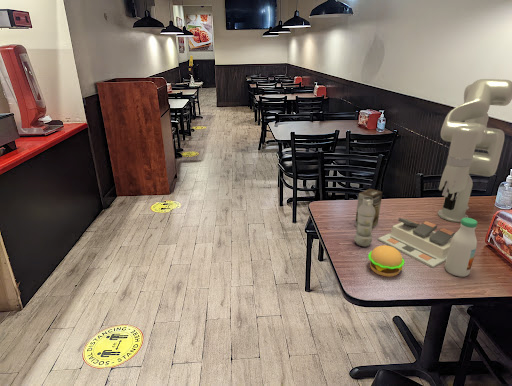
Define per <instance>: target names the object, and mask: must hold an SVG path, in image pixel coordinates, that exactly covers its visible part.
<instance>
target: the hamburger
mask: <svg viewBox="0 0 512 386" xmlns="http://www.w3.org/2000/svg"><path fill="white" fill-rule="evenodd" d="M367 258H368V260H369V261H370V263H369V267H370V269H371V270H372V272H374V273H375V274H377V275H379V276H382V277H387V278H389V277H390V278H391V277H395V276H397V275H398V274H399V273H400V272H401V271H402V270H403V268H404V265H405V259H404V258H403V255H402V252H400V251H398V250H397V249H395V248H394V247H391V246H389V245H387V244H384V245H383V244H382V245H379V246H375V247H374V248H373V249H372V250H371V251H370V252H369V253H368V256H367Z"/></svg>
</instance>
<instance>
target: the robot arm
mask: <svg viewBox="0 0 512 386" xmlns="http://www.w3.org/2000/svg"><path fill="white" fill-rule="evenodd" d="M511 101H512V81H511V80H509V79H496V78H482V79H477V80H475V81H474V82H473V83H471V84H469V85H467V86H466V87H465V89H464V93H463V103H462V104H460V105H458V106H456V107H455V108H453V109H451V110H450V111H449V112H448V113H447V115H446V116H445V119H444V121H443V123H442V125H441V126H442V127H441V129H440V138H441V139H442V140H443V141H444V142H449V143H450V145H449V151H448V156H447V160H446V165H445V166H444V169H443V171H442V175H441V178H440V182H439V187H438V190H439V191H440V192H442V194H441V196H442V197H444V200H443V205H442V209H439V210H437V215H438V216H439V218H441V219H443V220H444V221H448V222H451V223H453V222H454V223H461V220H462V218H469V216H468V214H466V213H467V211H468V210H469V209H470V207H469V201H470V196H471V193H472V189H473V186H474V184H473V180H472V177H471V175H475V176H476V175H477V176H483V177H492V176H495V174H496V172H497V169H498V166H499V163H500V158H501V155H502V152H503V147H504V142H505V132H504V130H502V129H498V128H493V127H487V125H488V122H489V118H490V117H489V113H488V112H489V109H490V106H496V107H497V106H499V107H501V106H503V107H506V106H508V105H509V104H510V103H511ZM475 150H478V151H479V150H480V151H485V152H478V151H475ZM486 152H487V153H486Z"/></svg>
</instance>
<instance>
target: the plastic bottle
mask: <svg viewBox="0 0 512 386" xmlns="http://www.w3.org/2000/svg"><path fill="white" fill-rule="evenodd" d="M362 203H363V204H362V205H361V206H360V207H359V208H358V227H356V232H355V235H354V242H355V243H356V245H358V246H361V247H369V246H370V245H371V244H372V241H373V235H372V232H373V228H372V224H373V220H374V216H375V209H374V207H373V205H372V204H373V198H371V197H364V198H363V202H362Z"/></svg>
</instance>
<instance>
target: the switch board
mask: <svg viewBox="0 0 512 386" xmlns="http://www.w3.org/2000/svg"><path fill="white" fill-rule="evenodd" d="M415 228H417V227H416V226H410V225H407V224H405V223H402V222H398V223H396V224H394V225H392V227H391V230H390V231H391V232H389V233H387V234H385V235H382V236H380V237H378V238H377V241H379V242H381V243H383V244H384V245H387V246H391V247H394V248H395V249H397V250H398V251H399V252H400V253H401V254H404V255H407V256H408V257H410V258H412V259H414V260H415V261H418V262H420V263H422V264H424V265H426V266H428V267H430V268H432V269H433V268H436V267H438V266H439V265H441V264H443V263H446V259H447V255H448V251H449V247H450V243H451V240H452V238H451V239H450V240H448V241H447V242H446V243H445V244H444V245H442V246H441V245H439V244H437V243H434V242H432V241H430V240H429V238H430V237H431V236H432V235H433V234H435V233H436V232H437V231H435V230H434V231H433V232H431V233H430V234H429V235H428V236H426V237H425V238H423V237H421V236H419V235H417V234H414V233H413V230H414V229H415Z"/></svg>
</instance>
